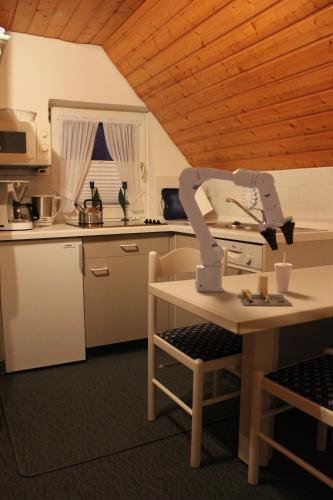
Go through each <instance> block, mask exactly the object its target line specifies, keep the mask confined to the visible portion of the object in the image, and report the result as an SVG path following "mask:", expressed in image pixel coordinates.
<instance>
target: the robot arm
mask: <svg viewBox="0 0 333 500" xmlns="http://www.w3.org/2000/svg"><path fill="white" fill-rule="evenodd" d="M212 179H214V180H222V181H229V182H233V184H234V185H235V186H237V187H242V188H250V189H257V190H258V193H259V199H260V202H261V205H262V209H263V213H264V217H265V220H266V223H262V224H260V225H258V229H259V234H260V236H261V237H262V238H264V240H265V241H266V242H267V244H268V245H269V247H270V249H271V251H277V250H279V246H278V242H277V228H276V227H278V228H279V229H280V231H281V233H282V235H283V236H284V240H285V243H286V244H287V246H290V245H294V230H295V226H296V223H295V222H296V221H294V218H293V216H292V215H289V216H286V217H284V213H283V210H282V206H281V201H280V198H279V195H278V192H277V188H276V186H275V181H276V180H275V178H274V175H273V174H271V173H268V172H266V171H265V172H261V170H260V169H257V170H256V171H255V170H248V169H247V167H241V168H238V169H236V170H235V171H230V170H228V171H227V170H225V169H224V170H223V169H217V168H212V167H211V168H210V167H194V168H193V167H192V166H191V167H190V166H189V167H185V168H183V169H182V171H181V172H180V174H179V177H178V179H177V180H178V182H179V184H178V186H179V187H178V200H179V202H180V204H181V205H182V208H183V210H184V212H185V215H186V217H187V219H188V221H189V224H190V226H191V228H192V230H193V232H194V234H195V235H194V236H195V237H196V240H197V241H198V251H199V253H200V254H199V255H200V261H201V262H202V263H201V264H197V265H196V266H195V281H194V283H195V284H194V287H195V289H196V291H197V292H225V289H224V287H223V284H222V283H223V262H222V260H223V259H224V256H225V251H224V249H223V248H222V247H221V246H220V245H219V244H218V241H217V240H216V239H215V238H214V237H213V235H212V233H211V231H210V229H209V227H208V225H207V221H206V219H205V218H204V215H203V213H202V211H201V209H200V206H199V204H198V202H197V200H196V198H195V196H196V194H197V191H198V190H199V188H200V187H201V186H202V185H203V183H204V182H208V181H210V180H212Z"/></svg>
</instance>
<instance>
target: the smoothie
mask: <svg viewBox="0 0 333 500" xmlns="http://www.w3.org/2000/svg"><path fill="white" fill-rule="evenodd" d="M286 253H287V252H285V251H284V252H283V262H276V263H275V262H274V265H273V266H274V272H275V274H274V275H275V285H276V292H279V293H287V292H288V290H289V287H290V286H289V284H290V280H291V279H290V278H291V275H292V274H291V273H292V269H293V266H294V265H293V264H292V263H288V262H286V256H287V255H286Z"/></svg>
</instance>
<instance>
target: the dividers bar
mask: <svg viewBox="0 0 333 500" xmlns="http://www.w3.org/2000/svg"><path fill="white" fill-rule="evenodd" d="M268 296H269V299H285V295H284V294H283V293H268ZM237 298H238V299H249V301H252V299H266V298H265V297H264V296H263V295H259V294H258V293H257V292H256V293H254V292H253V293H252V291H251V290H250V289H240V293H239V292H238V293H237Z"/></svg>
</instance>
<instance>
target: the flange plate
mask: <svg viewBox="0 0 333 500" xmlns="http://www.w3.org/2000/svg"><path fill="white" fill-rule="evenodd" d="M240 302H241V304H242V305H243V307H244V306H245V307H251V306H252V307H253V306H254V307H259V306H260V307H261V306H262V307H263V306H264V307H266V306H267V307H270V306H271V307H272V306H273V307H274V306H275V307H279V306H280V307H282V306H283V307H292V306H293V303H291V301H290V300H288V299H287V298H286V299H285V298H284V299H269V301H266V299H252V301H249V299H242V298H240Z"/></svg>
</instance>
